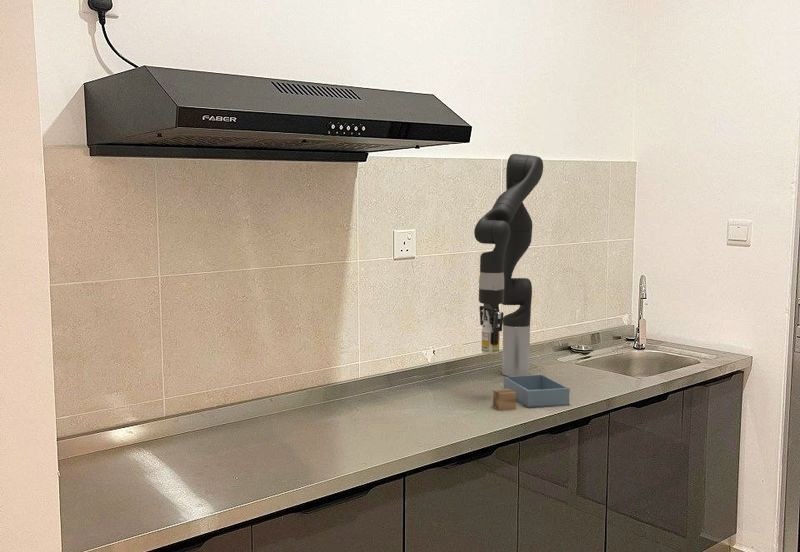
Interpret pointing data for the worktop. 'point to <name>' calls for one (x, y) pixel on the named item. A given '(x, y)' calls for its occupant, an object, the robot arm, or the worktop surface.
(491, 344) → the robot arm
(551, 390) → the tote
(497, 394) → the cube
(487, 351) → the supplement bottle
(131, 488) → the worktop surface
